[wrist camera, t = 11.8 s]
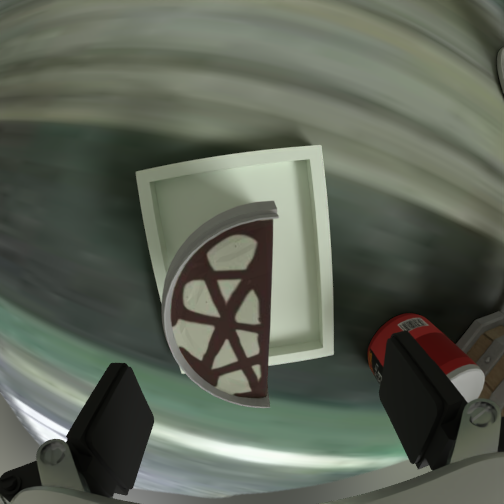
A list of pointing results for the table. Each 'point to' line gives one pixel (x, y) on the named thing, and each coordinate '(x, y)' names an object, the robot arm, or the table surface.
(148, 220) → the tray
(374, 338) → the canned food
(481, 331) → the tankard
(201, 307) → the food container
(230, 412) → the table surface
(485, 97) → the table surface
